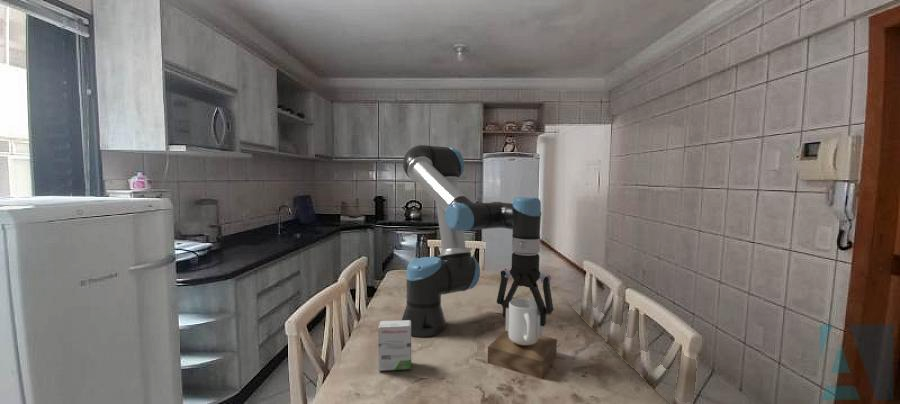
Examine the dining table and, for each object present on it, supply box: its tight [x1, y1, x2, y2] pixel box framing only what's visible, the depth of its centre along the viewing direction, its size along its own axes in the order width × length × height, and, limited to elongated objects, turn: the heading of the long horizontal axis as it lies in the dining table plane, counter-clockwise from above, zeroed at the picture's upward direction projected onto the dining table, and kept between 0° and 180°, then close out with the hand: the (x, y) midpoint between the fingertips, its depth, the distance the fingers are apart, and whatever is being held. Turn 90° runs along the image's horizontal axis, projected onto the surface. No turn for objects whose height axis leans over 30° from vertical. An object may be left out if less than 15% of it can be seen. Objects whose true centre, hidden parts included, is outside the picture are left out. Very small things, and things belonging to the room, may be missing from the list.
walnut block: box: [487, 330, 558, 380], centre depth 99 cm, size 15×15×5 cm
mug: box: [508, 298, 539, 345], centre depth 97 cm, size 12×8×10 cm
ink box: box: [377, 319, 412, 372], centre depth 94 cm, size 9×5×12 cm, turn 96°
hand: (523, 332), depth 99 cm, fingers closed on mug, 8 cm apart
